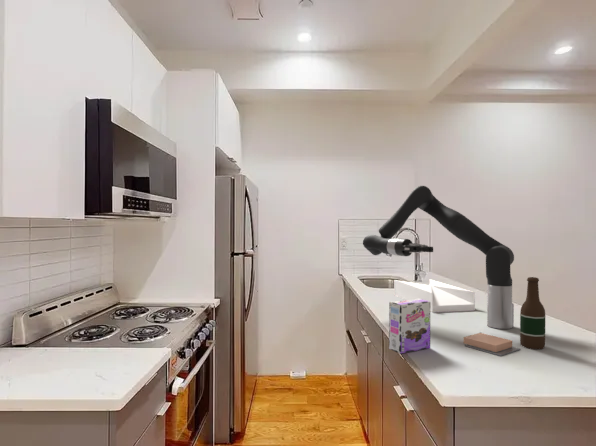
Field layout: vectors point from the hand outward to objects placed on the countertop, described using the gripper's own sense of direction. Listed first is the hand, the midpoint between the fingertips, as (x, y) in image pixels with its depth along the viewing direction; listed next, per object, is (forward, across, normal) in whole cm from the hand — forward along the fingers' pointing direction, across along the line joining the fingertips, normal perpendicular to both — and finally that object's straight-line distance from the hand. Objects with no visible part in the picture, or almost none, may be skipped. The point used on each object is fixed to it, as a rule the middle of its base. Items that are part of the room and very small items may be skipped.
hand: (432, 249), depth 170 cm
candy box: (+13, -28, +32) cm, 45 cm away
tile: (+21, -4, +30) cm, 37 cm away
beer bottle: (+35, +10, +32) cm, 49 cm away
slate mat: (+28, -4, +32) cm, 43 cm away
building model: (-35, +43, +33) cm, 64 cm away
